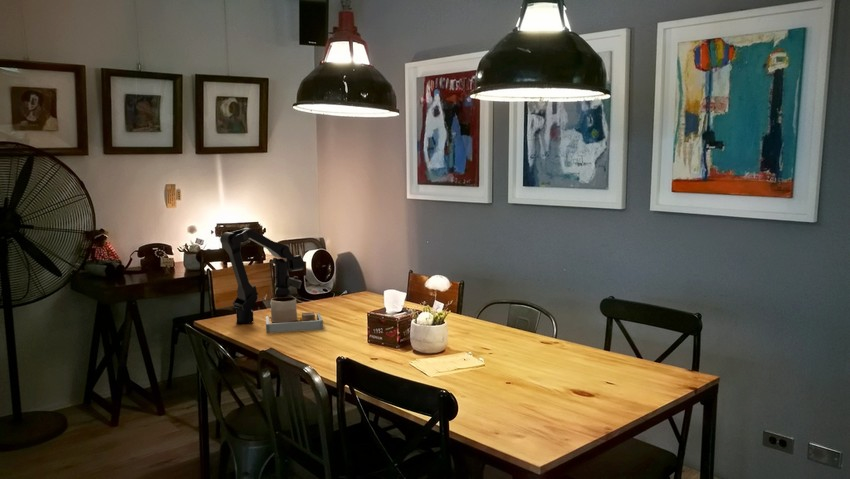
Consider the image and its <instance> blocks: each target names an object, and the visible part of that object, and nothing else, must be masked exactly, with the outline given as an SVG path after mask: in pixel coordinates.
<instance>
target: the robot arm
mask: <svg viewBox="0 0 850 479" xmlns="http://www.w3.org/2000/svg"><path fill="white" fill-rule="evenodd" d="M248 239H249V240H250V241H252V242H254V243H256V244H258V245H259V246H261V247H263V248H265V249H267V251H268V252H269V254H272V256H274V257H273V258H272V259H271V261H270V262H269V263H270V264H274V279H275V280H274V282H275V283H274V289H275V291H274V292H275V296H276V297H288V296H289V295H291V289H290V288H291V287H293V288H296V289H301V285H302V282H303V281H302V280H300V279H299V276H296V275H294V276H293V277H290V274H289V272H297V271H302V270H304V269H305V261H304V259H303V258H302V255H300V254H297V255H294V254H293V253H292V252H291V249H290V247H289V246H288V245H287V244H283V243H279V242H276V241H274V240H271V239H270V238H268V237H267V236H264V235H263V234H260V233H259V232H257V231H256V230H254V229H253V228H251V227H244V228H241V229H239V230H234V231H230V232H228V231H224V232H223V233H222V234H221V235H220V237H219V241H220V244H221V246H222V247H223V249H224V250H225V252H226V253H227V255H228V257H229V261H230V263H231V267H232V270H233V272H234V278H235V280H236V283H237V290H236V294H237V297H236V298H235V300H234V301H233V302H232V306H233V308H235V311H236V312H235V313H236V315H235V316H236V323H235V324H236V325H245V324H253V322H254V309H255V306H256V303H257V301H258V298H259V297H258V295H259V293H258V290H257V287H256V285H252V284H251V283H250V281H249V276H248V274H247V270H246V267H245V264H244V261H243V257H242V254H241V248H242V243H243V242H246V241H247V240H248ZM276 257H277V258H276Z"/></svg>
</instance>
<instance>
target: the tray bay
mask: <svg viewBox="0 0 850 479" xmlns="http://www.w3.org/2000/svg"><path fill="white" fill-rule="evenodd" d="M321 315H322V314H320V312H318V313H316V319H315V321H302V320H301V321H294V322H286V323H274V322H272V323H270V318H269V317H270V316H265V328H266V329H265V331H266V334H271V333H272V334H273V333H287V332H301V331H303V332H304V331H316V330H324V320H323V317H322V316H321Z"/></svg>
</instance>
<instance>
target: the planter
mask: <svg viewBox="0 0 850 479" xmlns="http://www.w3.org/2000/svg"><path fill="white" fill-rule="evenodd" d="M297 310H298V309H297V297H294V296H286V297H277V296H276V297H274V298H270V317H271V318H270V320H271V322H272V323H286V322H297V319H298V311H297Z"/></svg>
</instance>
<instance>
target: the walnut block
mask: <svg viewBox="0 0 850 479" xmlns="http://www.w3.org/2000/svg"><path fill="white" fill-rule="evenodd" d="M301 321H316V314H315V312H314V311H312V312H301Z"/></svg>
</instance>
